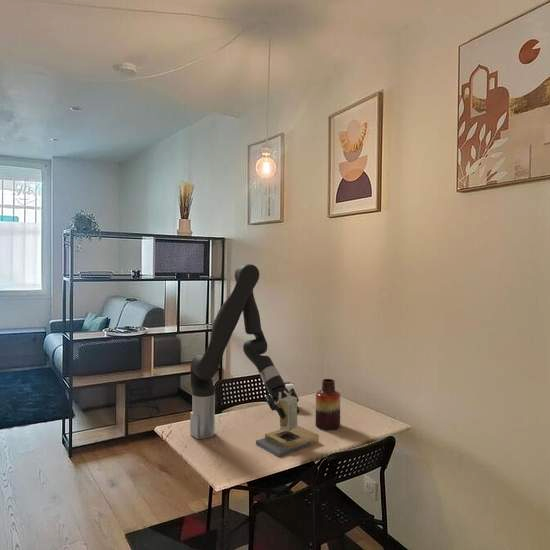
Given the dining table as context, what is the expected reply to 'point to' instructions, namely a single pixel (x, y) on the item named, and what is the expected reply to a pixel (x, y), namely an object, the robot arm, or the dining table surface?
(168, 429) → the dining table surface
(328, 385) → the vase
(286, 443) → the tan flat frame
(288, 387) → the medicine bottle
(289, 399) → the skincare box
